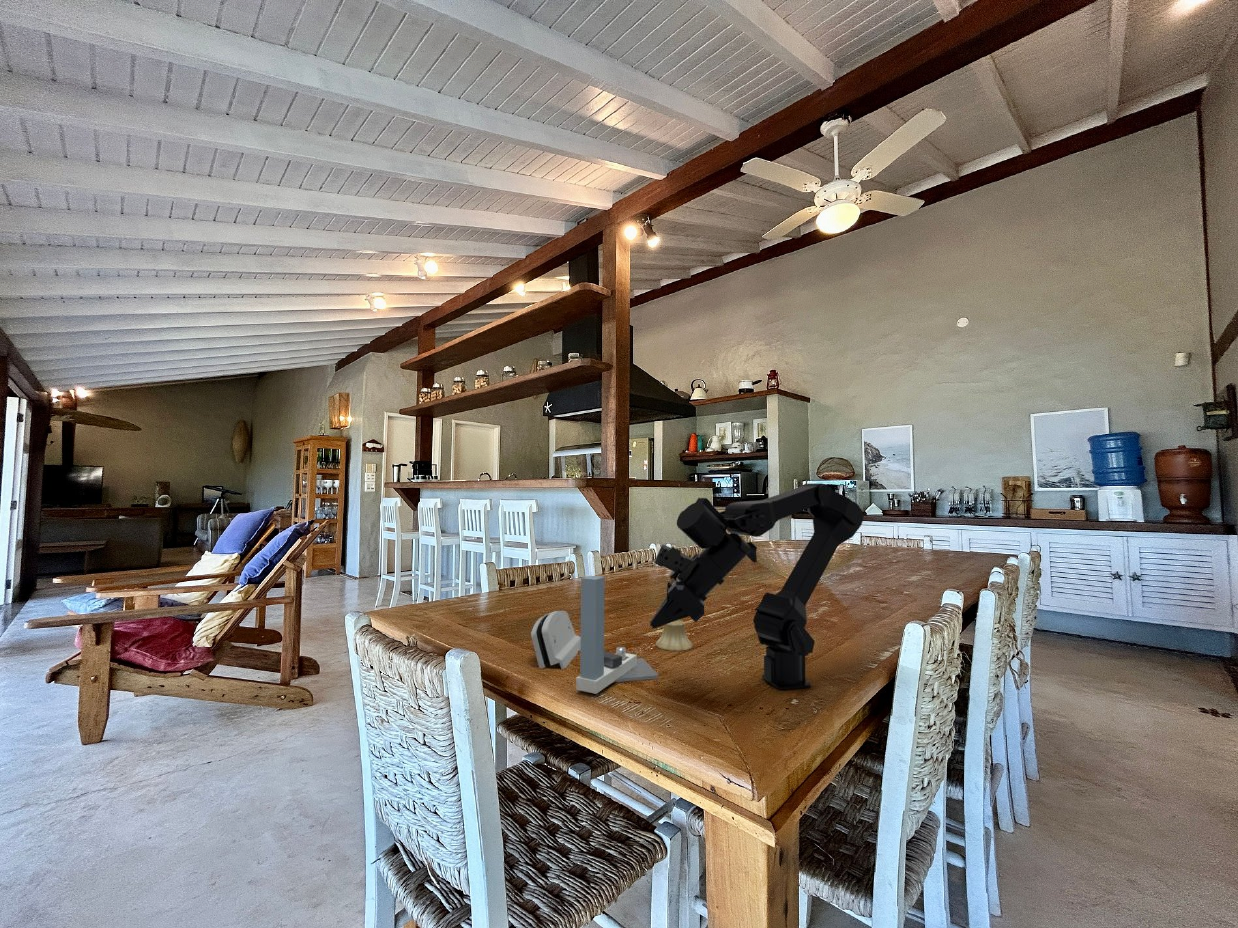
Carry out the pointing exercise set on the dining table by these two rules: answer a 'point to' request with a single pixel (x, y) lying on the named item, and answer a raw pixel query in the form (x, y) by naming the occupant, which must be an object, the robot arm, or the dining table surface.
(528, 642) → the dining table surface
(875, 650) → the dining table surface
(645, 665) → the pintle block
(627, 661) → the link
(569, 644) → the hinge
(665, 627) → the hand bell
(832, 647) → the dining table surface
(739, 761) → the dining table surface
